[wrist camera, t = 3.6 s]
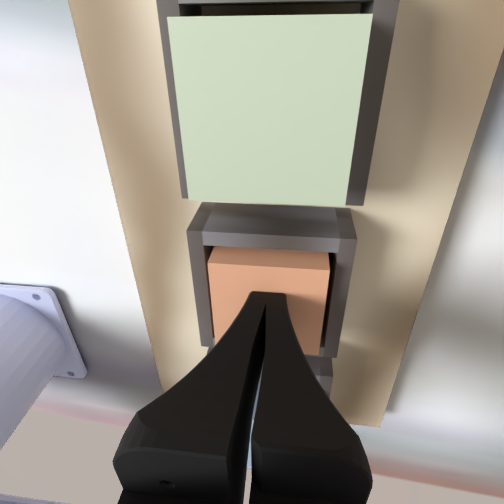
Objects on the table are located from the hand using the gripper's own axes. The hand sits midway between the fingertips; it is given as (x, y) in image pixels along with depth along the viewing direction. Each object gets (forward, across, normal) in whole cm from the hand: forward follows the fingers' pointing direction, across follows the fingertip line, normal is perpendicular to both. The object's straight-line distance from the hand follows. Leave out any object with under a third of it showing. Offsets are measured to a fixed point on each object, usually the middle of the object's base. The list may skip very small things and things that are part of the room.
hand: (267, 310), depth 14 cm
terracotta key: (+3, 0, 0) cm, 3 cm away
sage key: (+2, 0, -8) cm, 8 cm away
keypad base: (+5, 0, 0) cm, 5 cm away
